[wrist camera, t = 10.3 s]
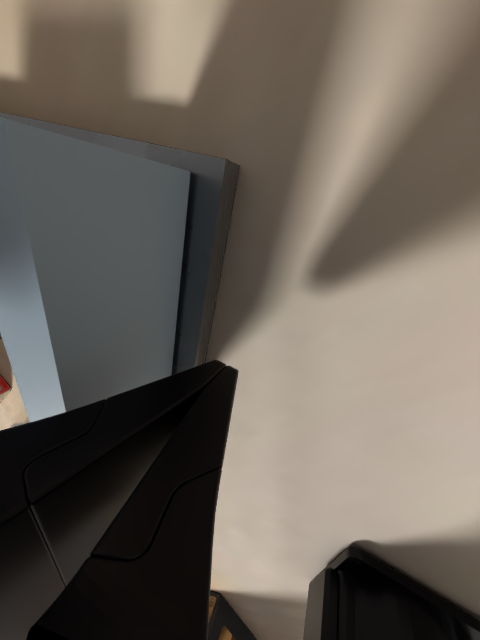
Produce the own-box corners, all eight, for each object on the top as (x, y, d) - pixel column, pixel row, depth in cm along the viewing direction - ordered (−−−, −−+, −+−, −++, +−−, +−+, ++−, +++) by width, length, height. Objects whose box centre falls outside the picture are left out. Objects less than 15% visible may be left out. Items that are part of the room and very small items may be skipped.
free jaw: (190, 171, 7) (3, 117, 3) (167, 415, 12) (85, 505, 8) (138, 158, 8) (-77, 100, 4) (137, 398, 13) (47, 475, 9)
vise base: (240, 165, 8) (64, 84, 3) (195, 414, 13) (112, 521, 9) (-71, 99, 12) (-330, 27, 8) (-6, 304, 18) (-130, 335, 13)
